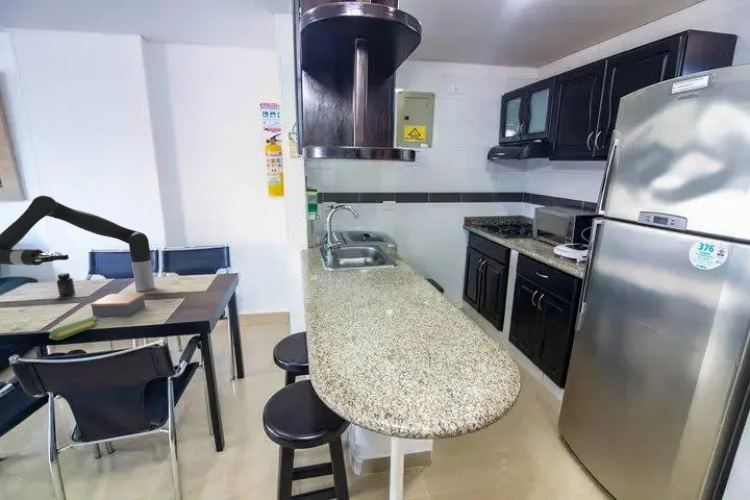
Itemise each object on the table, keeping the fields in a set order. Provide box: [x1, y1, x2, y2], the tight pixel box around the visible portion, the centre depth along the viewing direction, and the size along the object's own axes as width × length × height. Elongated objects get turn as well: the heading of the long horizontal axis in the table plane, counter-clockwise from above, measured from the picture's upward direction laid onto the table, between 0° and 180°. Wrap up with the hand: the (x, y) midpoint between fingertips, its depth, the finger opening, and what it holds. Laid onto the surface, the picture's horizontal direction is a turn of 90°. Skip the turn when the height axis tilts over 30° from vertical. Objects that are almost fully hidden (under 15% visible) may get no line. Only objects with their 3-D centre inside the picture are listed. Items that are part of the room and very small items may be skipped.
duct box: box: [91, 295, 146, 319], centre depth 170 cm, size 13×16×6 cm
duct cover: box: [90, 292, 146, 307], centre depth 170 cm, size 14×16×1 cm
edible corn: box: [48, 316, 100, 341], centre depth 149 cm, size 5×20×5 cm
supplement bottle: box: [56, 272, 76, 298], centre depth 193 cm, size 7×7×12 cm
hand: (67, 257), depth 164 cm, fingers closed
